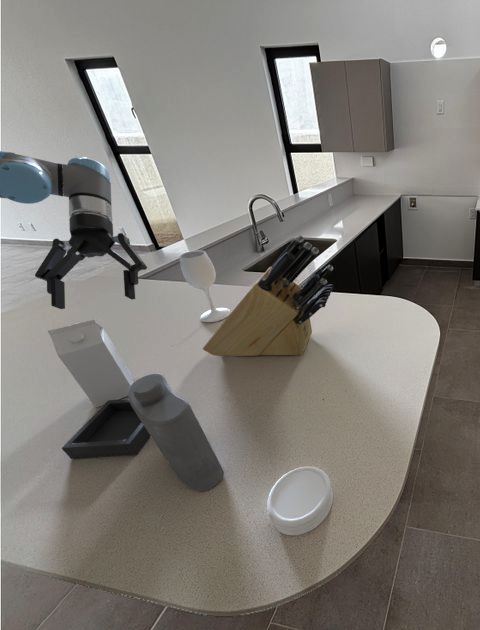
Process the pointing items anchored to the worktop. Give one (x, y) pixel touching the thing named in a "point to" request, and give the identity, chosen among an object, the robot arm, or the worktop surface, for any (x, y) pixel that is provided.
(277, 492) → the coaster
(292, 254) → the knife block
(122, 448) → the tray
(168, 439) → the flask
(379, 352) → the worktop surface
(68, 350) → the milk carton
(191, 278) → the wineglass
